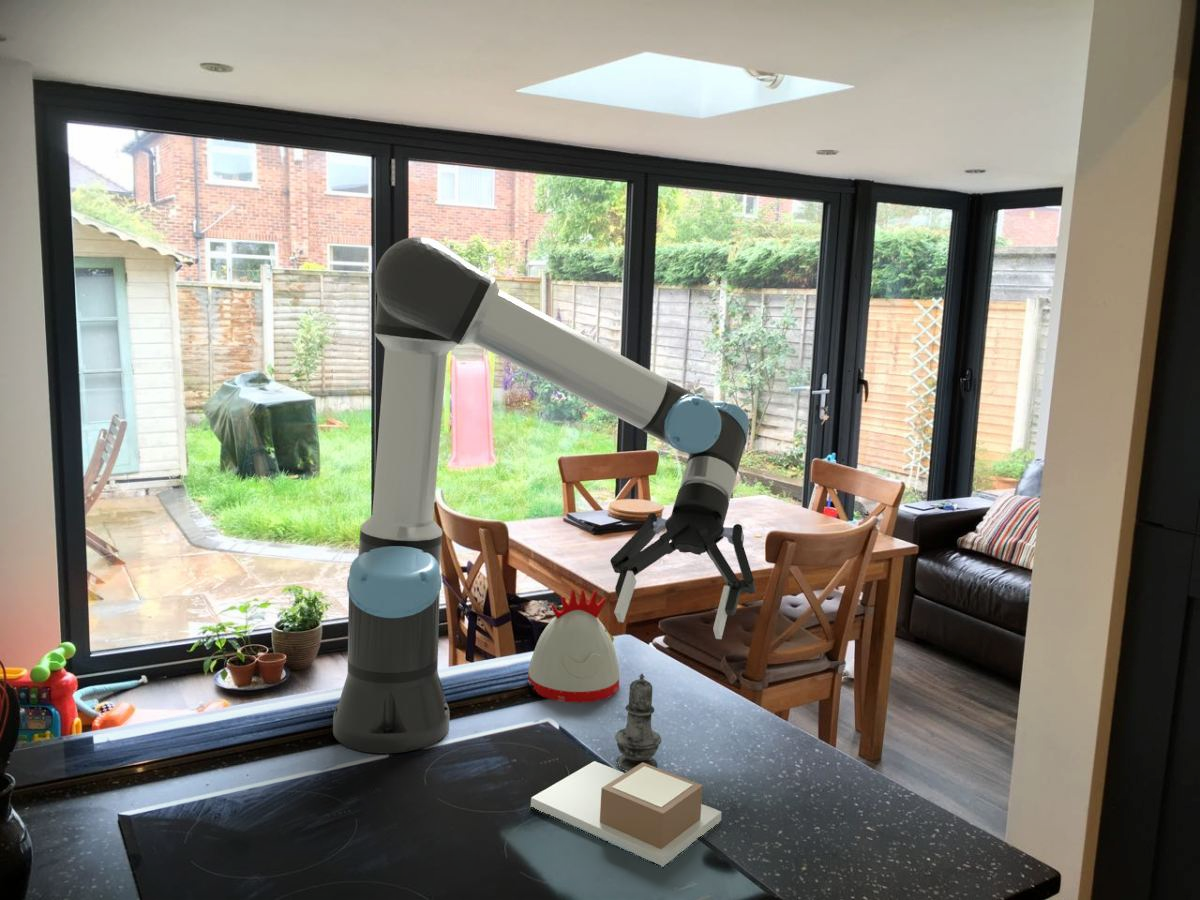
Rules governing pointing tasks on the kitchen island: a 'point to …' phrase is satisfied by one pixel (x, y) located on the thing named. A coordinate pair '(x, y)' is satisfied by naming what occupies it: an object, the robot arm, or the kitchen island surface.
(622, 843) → the build board
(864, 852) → the kitchen island surface
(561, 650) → the kitchen timer
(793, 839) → the kitchen island surface
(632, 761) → the salt shaker
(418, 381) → the robot arm
